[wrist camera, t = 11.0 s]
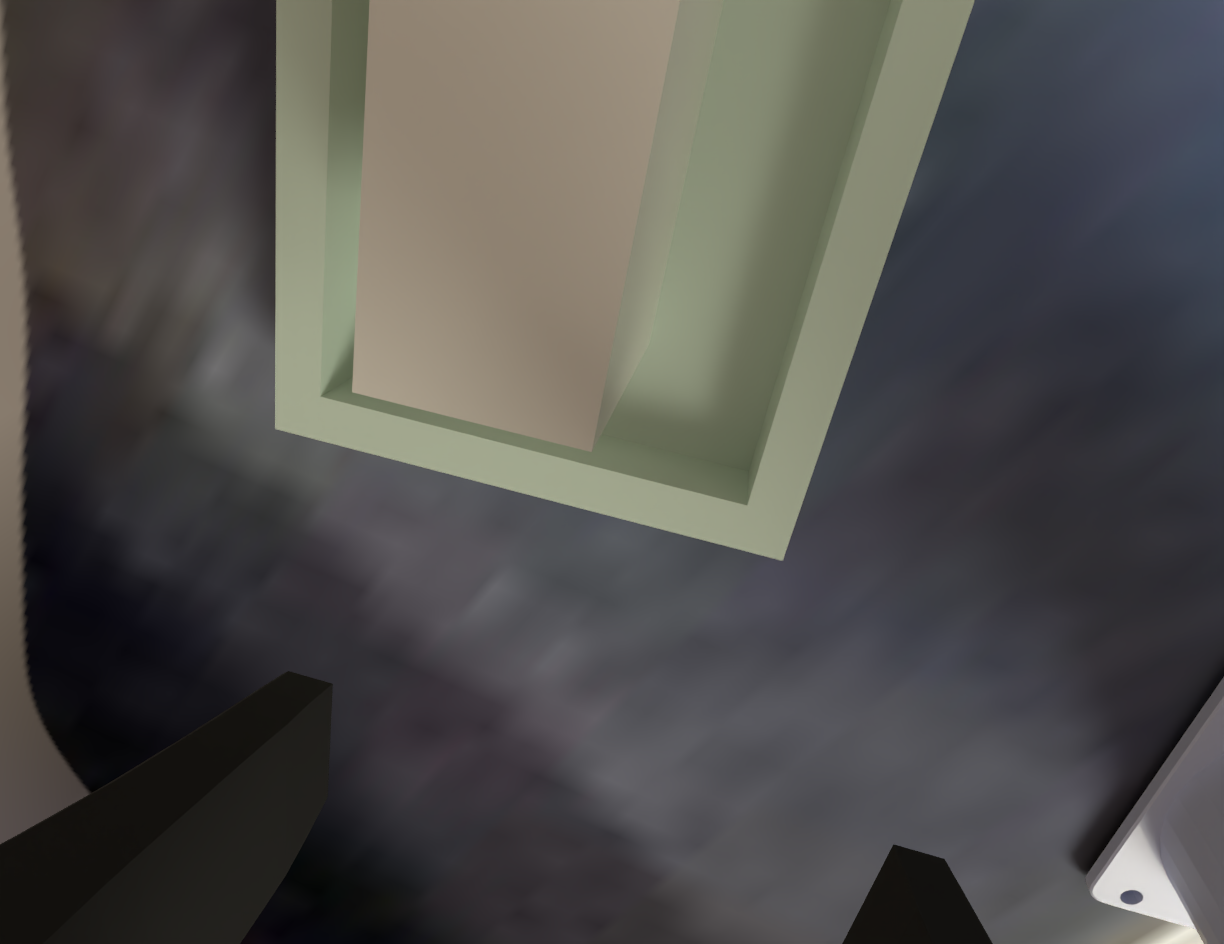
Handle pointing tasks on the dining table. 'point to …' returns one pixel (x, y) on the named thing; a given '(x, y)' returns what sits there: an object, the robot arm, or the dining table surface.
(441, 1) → the beige rectangular block
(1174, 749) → the robot arm
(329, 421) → the tray
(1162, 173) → the dining table surface
